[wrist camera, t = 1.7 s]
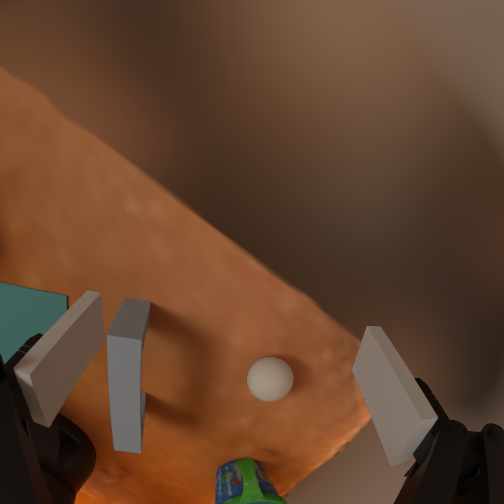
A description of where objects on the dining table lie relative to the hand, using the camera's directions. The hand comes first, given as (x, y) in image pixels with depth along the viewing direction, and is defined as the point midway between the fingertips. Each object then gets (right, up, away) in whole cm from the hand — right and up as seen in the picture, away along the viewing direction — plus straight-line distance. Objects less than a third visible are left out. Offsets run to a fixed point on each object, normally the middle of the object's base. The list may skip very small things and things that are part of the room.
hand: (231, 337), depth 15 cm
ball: (+3, -11, +21) cm, 24 cm away
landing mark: (-27, -6, +16) cm, 32 cm away
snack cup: (-1, -31, +27) cm, 41 cm away
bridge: (-13, -8, +20) cm, 25 cm away
